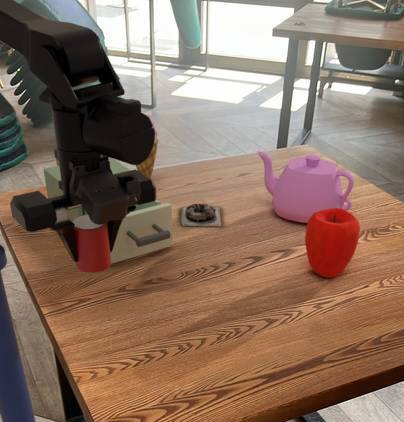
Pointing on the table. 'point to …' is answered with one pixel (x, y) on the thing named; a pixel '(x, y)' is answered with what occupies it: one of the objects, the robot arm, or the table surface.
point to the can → (91, 245)
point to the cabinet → (53, 190)
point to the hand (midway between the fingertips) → (92, 256)
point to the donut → (201, 215)
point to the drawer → (143, 231)
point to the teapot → (306, 187)
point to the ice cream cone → (148, 164)
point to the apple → (331, 241)
